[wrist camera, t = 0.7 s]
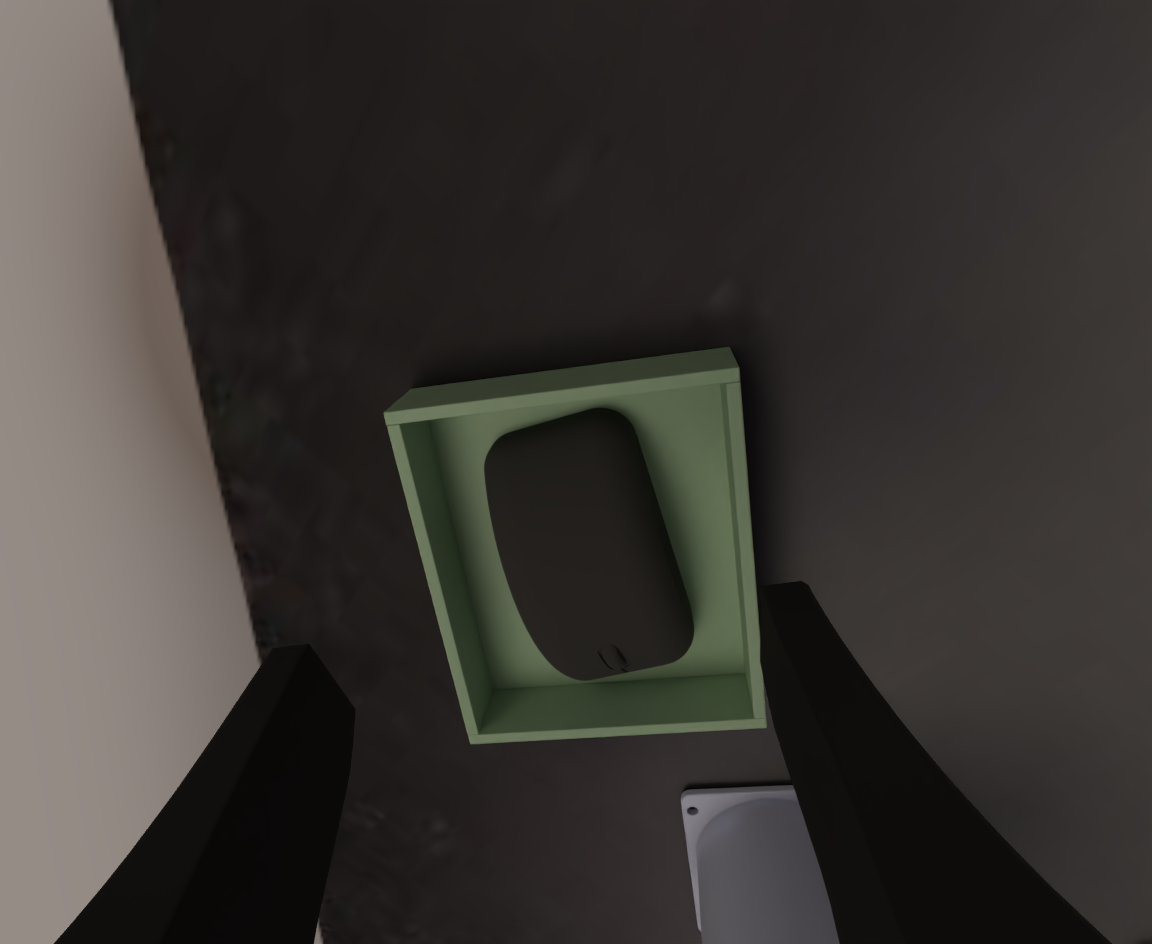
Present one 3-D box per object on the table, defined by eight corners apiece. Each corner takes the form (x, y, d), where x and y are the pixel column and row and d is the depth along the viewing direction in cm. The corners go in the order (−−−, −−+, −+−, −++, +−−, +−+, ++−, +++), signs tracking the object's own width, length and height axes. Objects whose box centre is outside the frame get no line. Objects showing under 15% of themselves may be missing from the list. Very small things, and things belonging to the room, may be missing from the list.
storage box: (756, 678, 32) (767, 728, 29) (485, 695, 34) (470, 744, 31) (729, 346, 27) (739, 367, 24) (410, 388, 29) (382, 412, 26)
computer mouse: (564, 667, 33) (553, 729, 29) (475, 442, 29) (450, 479, 25) (701, 638, 31) (708, 699, 28) (626, 398, 28) (622, 431, 24)
